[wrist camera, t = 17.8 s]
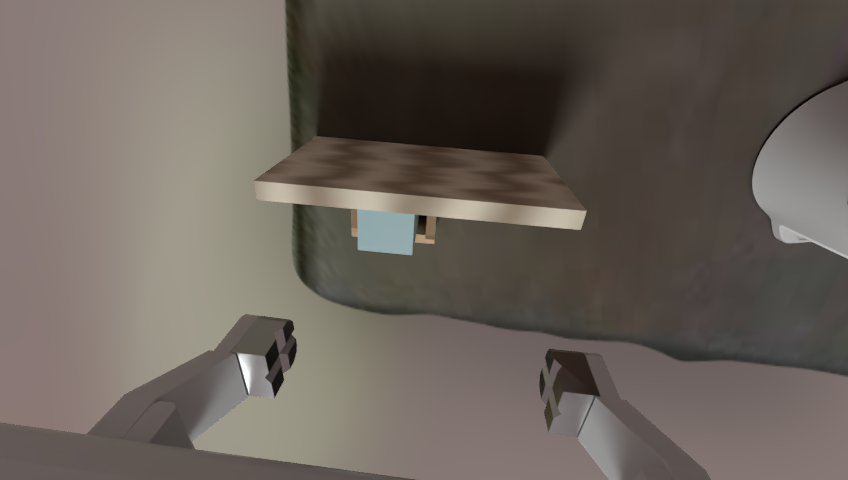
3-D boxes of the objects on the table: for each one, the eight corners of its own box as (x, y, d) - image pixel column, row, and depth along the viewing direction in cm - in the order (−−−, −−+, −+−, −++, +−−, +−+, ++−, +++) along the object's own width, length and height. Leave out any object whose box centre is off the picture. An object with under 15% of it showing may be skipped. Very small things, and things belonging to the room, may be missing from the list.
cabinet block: (423, 168, 39) (415, 204, 31) (420, 216, 42) (411, 262, 34) (377, 164, 40) (356, 199, 31) (377, 212, 42) (358, 257, 34)
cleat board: (543, 155, 38) (586, 211, 26) (524, 235, 43) (553, 314, 30) (316, 136, 39) (253, 180, 26) (322, 216, 43) (271, 286, 31)
